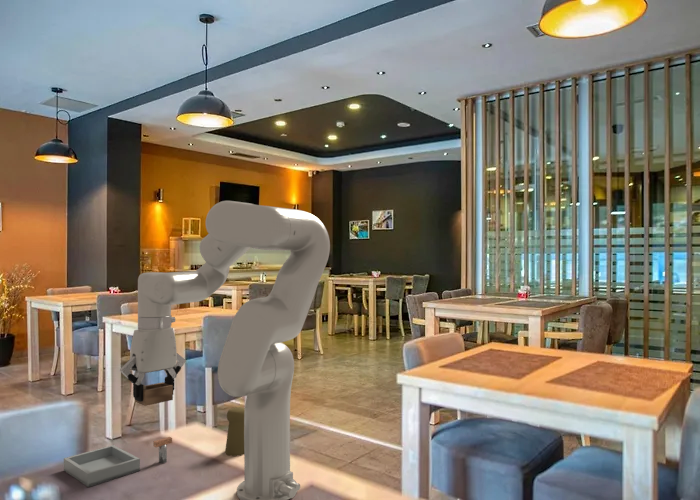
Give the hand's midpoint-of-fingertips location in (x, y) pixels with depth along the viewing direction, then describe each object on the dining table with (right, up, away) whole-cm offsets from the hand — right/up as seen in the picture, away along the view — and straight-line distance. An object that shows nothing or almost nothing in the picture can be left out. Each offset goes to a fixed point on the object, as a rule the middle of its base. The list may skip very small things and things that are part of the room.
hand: (154, 396), depth 128 cm
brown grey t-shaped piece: (+2, -16, 0) cm, 16 cm away
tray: (-10, -16, -5) cm, 20 cm away
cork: (+19, -16, +7) cm, 26 cm away
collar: (0, -1, 0) cm, 1 cm away
